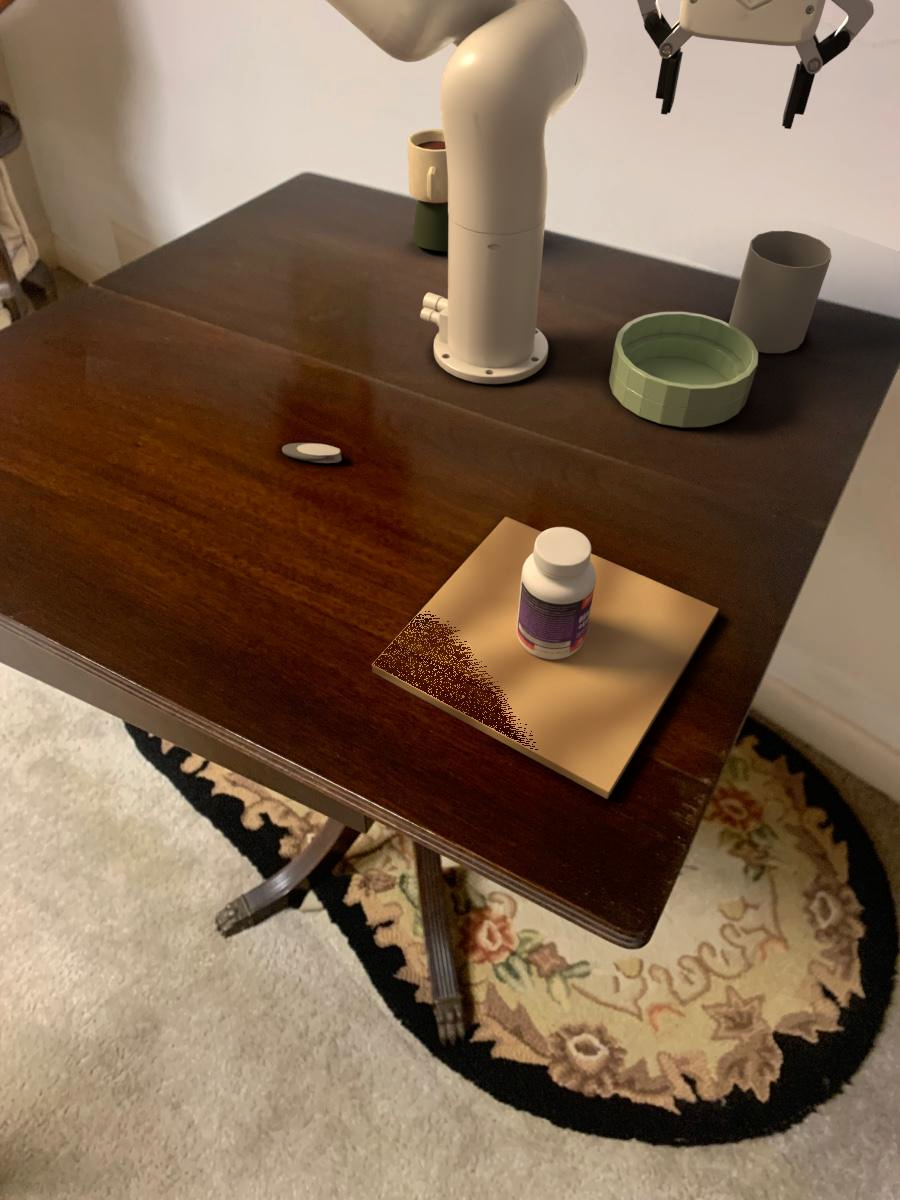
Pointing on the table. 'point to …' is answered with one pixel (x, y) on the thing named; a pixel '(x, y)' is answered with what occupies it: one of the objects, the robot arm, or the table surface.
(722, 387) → the bowl
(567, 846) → the table surface
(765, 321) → the cup
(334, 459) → the oval pebble
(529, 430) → the table surface
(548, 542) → the pill bottle
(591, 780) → the mat
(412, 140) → the character mug
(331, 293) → the table surface
